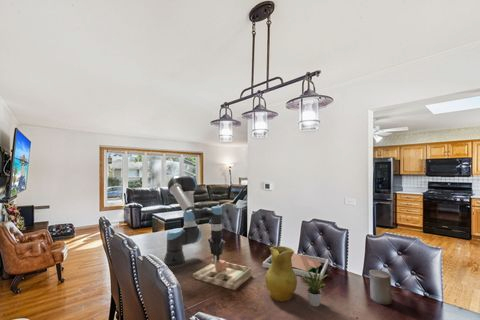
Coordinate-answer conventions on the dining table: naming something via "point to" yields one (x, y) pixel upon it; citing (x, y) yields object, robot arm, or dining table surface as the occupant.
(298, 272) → the serving tray rim
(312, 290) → the house plant
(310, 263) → the house
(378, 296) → the pillar candle
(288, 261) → the pitcher
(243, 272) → the cube sorting tray
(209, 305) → the dining table surface
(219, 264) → the salmon block
